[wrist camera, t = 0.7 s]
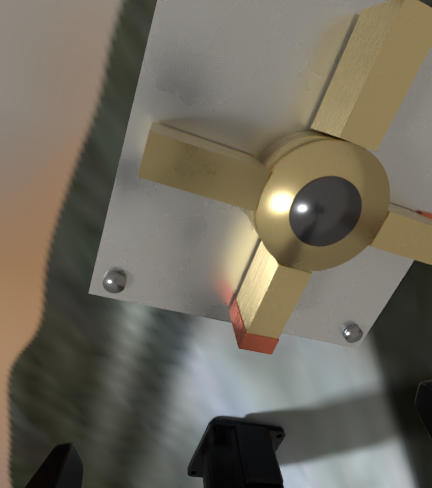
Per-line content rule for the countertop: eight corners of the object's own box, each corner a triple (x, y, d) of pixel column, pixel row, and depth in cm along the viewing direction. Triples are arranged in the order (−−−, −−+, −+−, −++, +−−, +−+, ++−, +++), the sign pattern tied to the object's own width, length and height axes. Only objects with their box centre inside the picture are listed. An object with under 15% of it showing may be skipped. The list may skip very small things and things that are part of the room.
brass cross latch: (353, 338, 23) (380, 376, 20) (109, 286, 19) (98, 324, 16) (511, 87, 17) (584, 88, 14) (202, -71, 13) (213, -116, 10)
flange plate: (354, 337, 25) (365, 353, 23) (92, 282, 20) (87, 297, 19) (518, 76, 18) (549, 76, 16) (183, -100, 13) (185, -122, 12)
